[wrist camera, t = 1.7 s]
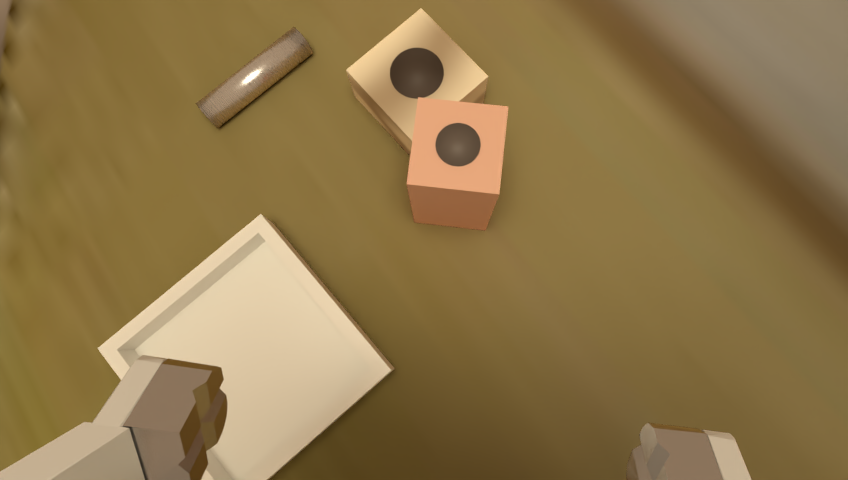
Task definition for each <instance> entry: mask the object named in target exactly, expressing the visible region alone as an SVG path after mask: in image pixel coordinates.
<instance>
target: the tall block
mask: <svg viewBox="0 0 848 480" xmlns="http://www.w3.org/2000/svg"><path fill="white" fill-rule="evenodd" d="M507 114H508V106H498V105H488V104H479V103H469V102H459V101H450V100H440V99H430V98H421V97H418V101H417V109H416V116H415V124H414V132H413V139H412V147H411V155H410V162H409V170H408V178H407V188H408V193H409V198H410V203H411V208H412V212H413V217H414V222H415V223H424V224H433V225H441V226H450V227H459V228H468V229H477V230H486V228H487V225H488V222H489V220H490V217H491V215H492V212H493V209H494V207H495V204H496V202H497V199H498V196H499V192H500V183H501V173H502V163H503V153H504V144H505V134H506V124H507Z"/></svg>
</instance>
